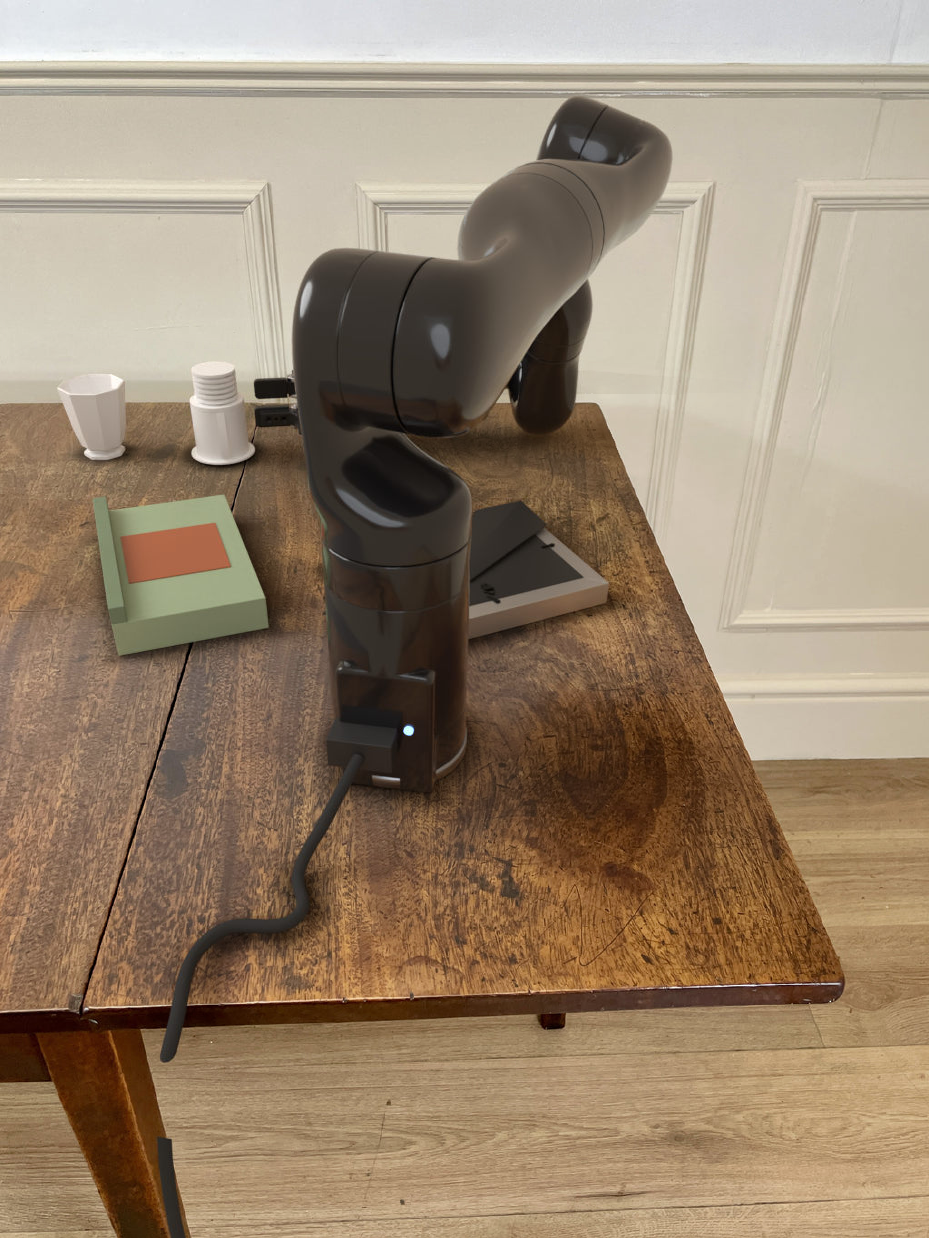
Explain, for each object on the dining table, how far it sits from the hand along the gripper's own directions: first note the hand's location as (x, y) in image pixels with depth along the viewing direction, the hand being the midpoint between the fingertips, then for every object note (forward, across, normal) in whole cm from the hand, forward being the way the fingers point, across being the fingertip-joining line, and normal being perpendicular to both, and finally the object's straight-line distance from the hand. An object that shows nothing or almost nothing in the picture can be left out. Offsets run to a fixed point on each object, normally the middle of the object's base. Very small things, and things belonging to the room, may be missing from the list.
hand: (254, 402), depth 105 cm
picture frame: (-17, +32, +6) cm, 37 cm away
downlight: (+4, 0, +6) cm, 7 cm away
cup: (+18, -4, +6) cm, 19 cm away
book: (+8, +27, +6) cm, 29 cm away
